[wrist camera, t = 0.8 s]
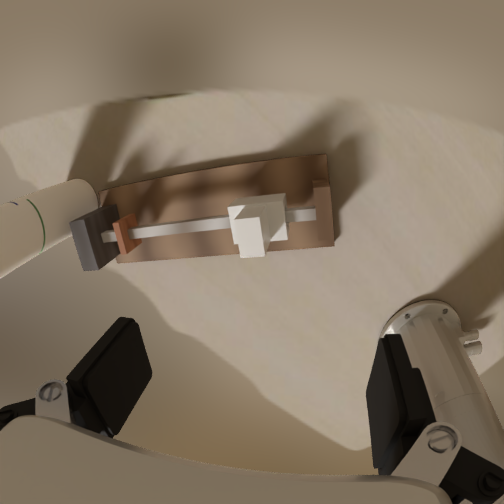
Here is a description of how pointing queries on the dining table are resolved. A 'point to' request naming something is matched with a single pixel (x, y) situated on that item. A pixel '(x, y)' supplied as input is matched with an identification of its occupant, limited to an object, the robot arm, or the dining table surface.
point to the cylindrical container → (41, 221)
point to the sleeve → (258, 223)
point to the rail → (203, 212)
